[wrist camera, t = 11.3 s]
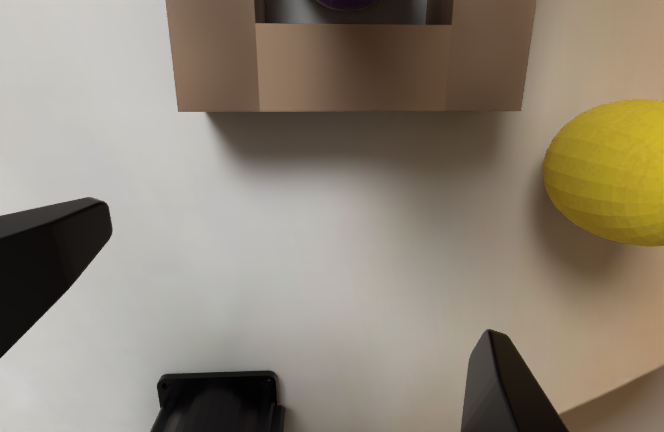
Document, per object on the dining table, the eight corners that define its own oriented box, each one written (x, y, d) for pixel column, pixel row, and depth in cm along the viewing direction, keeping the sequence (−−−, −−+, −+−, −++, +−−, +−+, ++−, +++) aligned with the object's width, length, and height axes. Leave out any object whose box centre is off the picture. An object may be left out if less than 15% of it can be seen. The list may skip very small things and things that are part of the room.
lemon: (596, 216, 21) (764, 290, 13) (497, 199, 20) (611, 267, 12) (639, 108, 19) (859, 122, 11) (533, 86, 18) (688, 85, 11)
